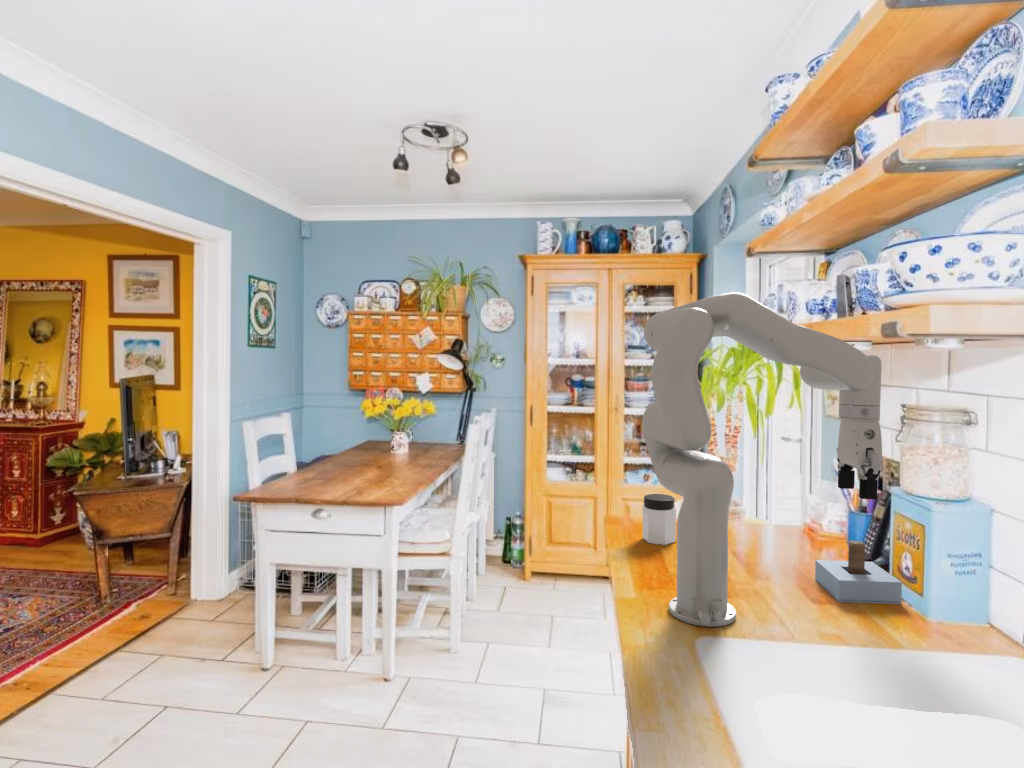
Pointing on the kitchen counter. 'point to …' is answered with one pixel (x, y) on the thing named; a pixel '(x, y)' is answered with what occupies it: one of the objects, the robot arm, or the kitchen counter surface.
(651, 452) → the robot arm
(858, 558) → the peg
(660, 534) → the jar
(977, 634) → the kitchen counter surface
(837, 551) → the kitchen counter surface
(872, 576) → the hole block
